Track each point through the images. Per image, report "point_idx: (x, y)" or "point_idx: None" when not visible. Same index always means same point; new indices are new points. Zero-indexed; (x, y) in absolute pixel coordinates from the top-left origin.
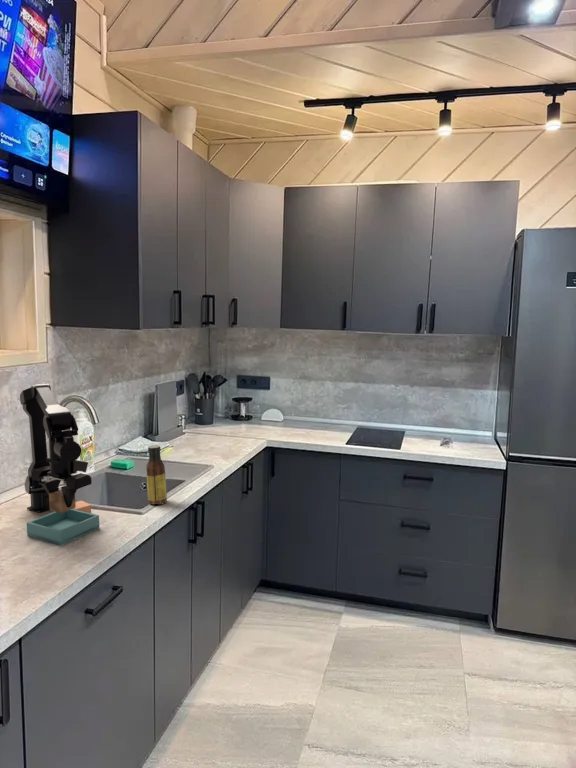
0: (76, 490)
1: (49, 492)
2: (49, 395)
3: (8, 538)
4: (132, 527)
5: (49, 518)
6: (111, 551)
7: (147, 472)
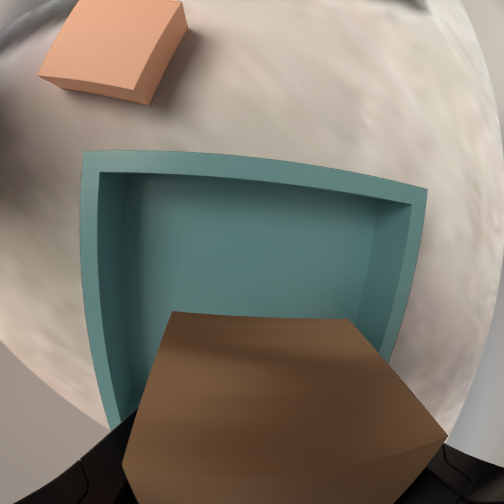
0: (498, 468)
1: None
2: None
3: (95, 416)
4: (478, 140)
5: (110, 310)
6: (486, 334)
7: None
